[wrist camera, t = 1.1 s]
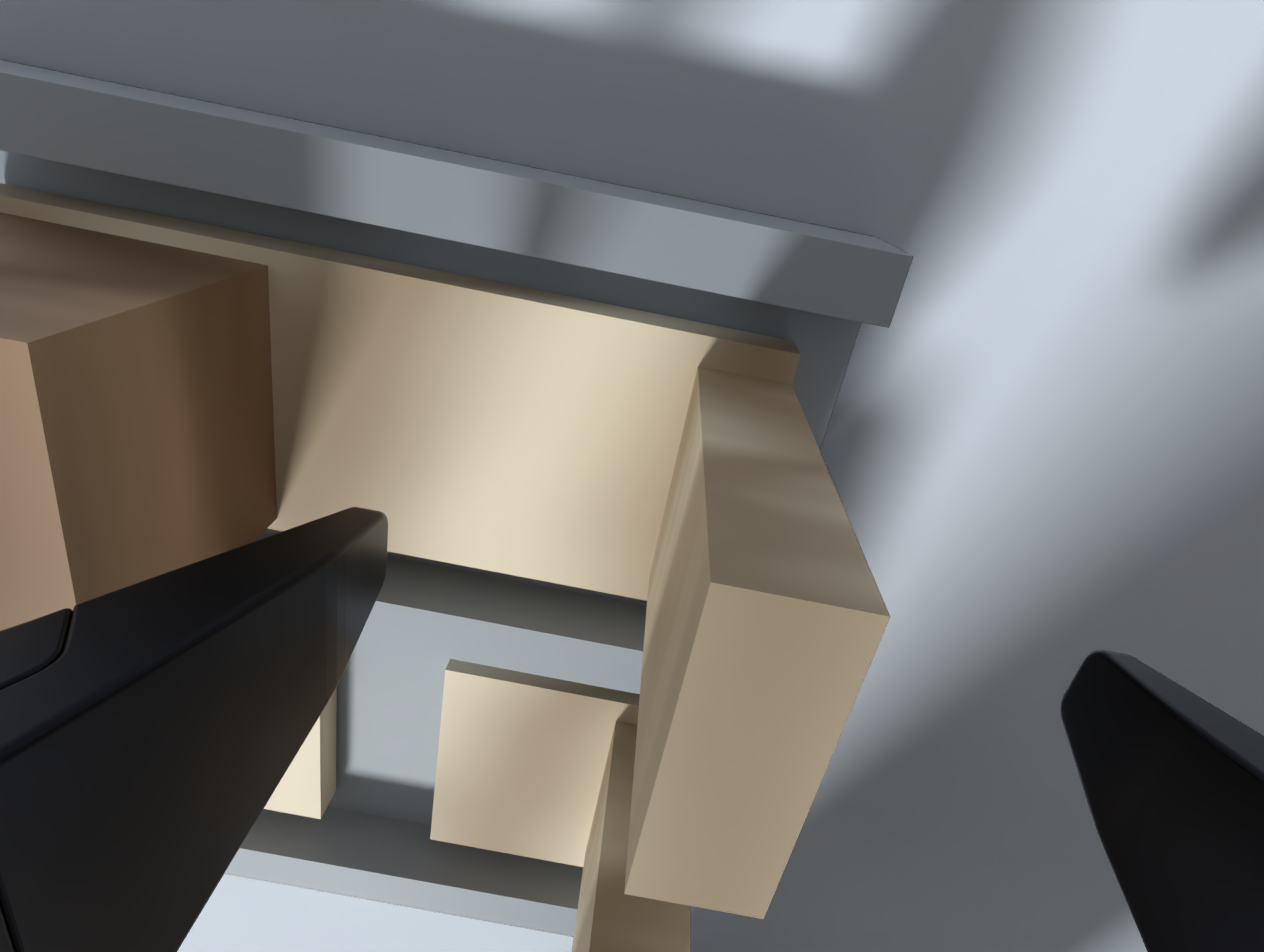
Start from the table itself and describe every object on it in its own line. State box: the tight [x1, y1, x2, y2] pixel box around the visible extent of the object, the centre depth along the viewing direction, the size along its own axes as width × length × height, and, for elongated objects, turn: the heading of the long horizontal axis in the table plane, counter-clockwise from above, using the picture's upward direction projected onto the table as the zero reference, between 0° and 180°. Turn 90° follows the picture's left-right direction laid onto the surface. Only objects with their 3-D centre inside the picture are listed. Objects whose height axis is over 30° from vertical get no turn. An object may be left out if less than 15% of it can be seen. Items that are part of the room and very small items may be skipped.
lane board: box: [0, 60, 913, 937], centre depth 14 cm, size 15×16×2 cm
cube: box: [0, 212, 277, 631], centre depth 10 cm, size 4×4×4 cm
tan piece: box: [0, 183, 890, 919], centre depth 10 cm, size 13×5×7 cm, turn 80°
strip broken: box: [264, 659, 691, 952], centre depth 13 cm, size 13×5×7 cm, turn 80°
